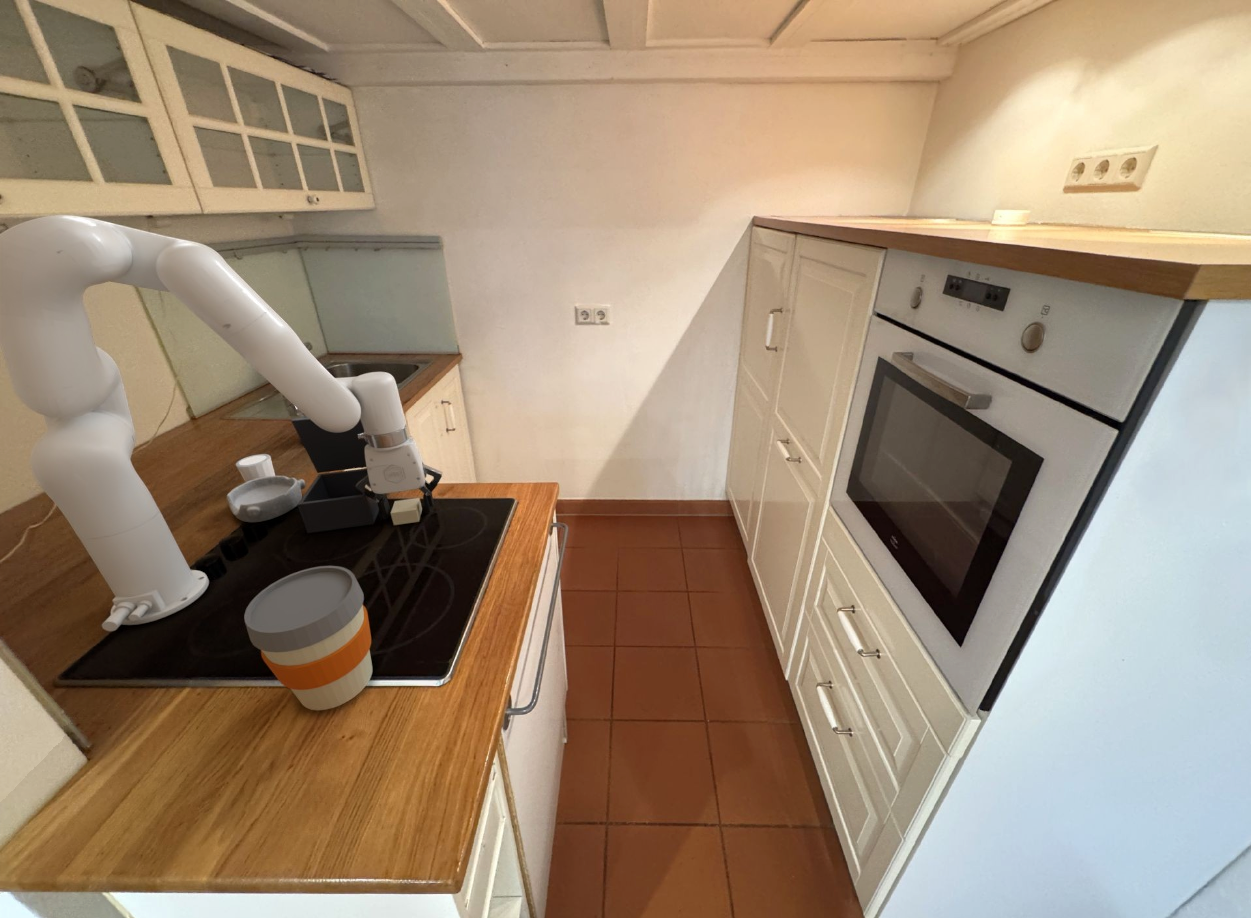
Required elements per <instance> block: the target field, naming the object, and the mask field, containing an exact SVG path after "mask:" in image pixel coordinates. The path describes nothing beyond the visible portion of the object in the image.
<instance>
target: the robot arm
mask: <svg viewBox="0 0 1251 918" xmlns="http://www.w3.org/2000/svg"><path fill="white" fill-rule="evenodd" d="M109 282H110V283H116V284H122V285H127V286H133V287H138V288H143V289H148V290H155V291H159V292H166V293H170V294H172V295H173V296H174V297H175V299H177V300H178V301H179V302H180V303H181V304H182V305H184V307H186V308H187V309H188V310H189V311H190V312H192V313H193V314H194V315H195V316H196V317H197V318H198V319H200V320H201V321H202V322H203V323H204V324H206V326H207V327H209V329H211V330H212V331H213V332H214V333H215V334H216V335H217V336H219V337H220V338H221V339H222V340H223V341H224V342H225V343H226V344H227V345H229V346H230V347H231V348H232V349H233V350H234V351H235V352H236V353H237V354H238V355H239V356H241V357H242V358H243V359H244V360H245V361H246V363H248V364H249V365H250V366H251V367H252V368H253V369H254V370H255V371H256V372H258V373H259V374H260V375H261V376H262V377H263V378H264V379H265V380H266V381H268V383H270V384H271V385H272V386H273V387H274V388H275V389H276V390H277V391H278V392H279V393H280V394H281V395H282V396H283V397H284V398H285V399H287V401H289V402H290V403H291V404H292V405H293V406H294V407H296V408H297V410H299V411H300V412H301V413H302V414H303V415H304V416H305V417H308V418H309V419H310V420H311V421H313V422H314V423H315V424H316V425H317V426H319V427H320V428H322V429H324V430H326V431H329V432H335V433H340V432H345V431H348V430H350V429H352V428H353V427H354V426H355V425H356V424H357V423H358V422H359V420H360V418H361V421H362V424H363V428H364V433H362V434H358V439H359V441H360V440H363V441H366V442H367V445H366V446H365V460H366V467H365V468H367V472H368V474H367V475H366V476H364V477H363V478H362V479H361V480H360V481H359V482H358V483H357V484H356V488H357V489H358V490H360V491H361V492H363V493H364V494H365V495H366V496H367V497H369V498H371V499H373V500H374V502H376V503H377V504H378V507H379V513H380V515H382V517H383V519H384V520H387V519H389V517H390V515H391V510H392V509H391V507H390V504H389V500H388V497H387V494H393V493H401V492H408V491H414V490H419V491H420V492H421V493H423V496H422V499H423V504H424V507H425V511H426V513H431V512H432V508H433V507H434V506H435V500H434V496H433V492H434V490H435V489H436V487H437V486H438V484H439V483H440V481H441V479H442V477H443V471H442V470H439V469H436V468H434V467H432V466H429V465H426V464H425V463H424V460H423V457H422V454H421V451H420V448H419V447H418V444H417V442H416V440H415V439H414V437H413V436H410V433H409V430H408V425H407V422H406V417H405V413H404V409H403V405H402V401H401V398H400V393H399V389H398V386H397V381H396V379H395V377H394V376H393V375H392V374H391V373H389V372H385V371H372V372H366V373H363V374H360V375H358V376H348V377H346V376H345V377H334V376H333V375H332V374H331V373H330V372H329V370H327V368H325V367H324V365H322V363H321V362H320V361H318V359H317V358H316V357H315V356H314V355H313V354H312V353H311V352H310V351H309V349H308V348H307V346H306V345H305V344H304V343H303V342H302V340H301V338H300V337H299V336H298V334H297V333H296V332H295V331H294V329H293V328H292V327H291V326H290V325H289V324H288V323H287V322H286V321H285V320H284V319H283V318H282V317H281V316H280V315H279V314H278V312H276V311H275V310H274V309H273V308H272V307H271V306H270V305H269V304H268V303H267V302H266V301H265V300H264V299H263V298H262V297H261V296H260V295H259V294H258V293H257V292H256V290H255V289H253V288H252V287H251V286H250V285H249V284H248V282H246V281H245V280H244V279H243V278H242V277H241V276H240V275H239V274H238V273H237V272H236V271H235V269H233V267H231V266H230V265H229V263H228V262H227V261H226V260H225V259H224V258H223V256H222V255H221V254H220V253H219V252H218V251H216V250H214V249H213V248H212V247H210V246H208V245H206V244H203V243H201V242H196V241H192V240H187V239H182V238H176V237H173V236H167V235H164V234H163V235H162V234H158V233H155V232H151V231H145V230H142V229H137V228H133V227H130V226H126V225H121V224H118V223H112V222H109V221H105V220H101V219H97V218H92V217H87V216H81V215H80V216H79V215H71V214H54V215H47V216H42V217H37V218H32V219H30V220H27V221H23V222H21V223H18V224H16V225H14V226H11V227H10V228H8V229H6V230H4V231H2V232H0V349H1V352H2V355H3V358H4V361H5V364H6V367H7V371H8V376H9V380H10V384H11V386H12V389H13V391H14V394H15V395H16V397H17V398H18V399H19V401H20V402H22V404H23V405H24V406H26V408H27V409H30V411H33V412H35V413H36V414H39V415H41V416H43V418H44V421H45V424H46V427H47V430H46V431H45V432H43V434H42V435H41V436H40V438H39V439H38V440H37V441H36V442H35V444H34V446H33V447H32V450H31V453H30V457H29V467H30V471H31V474H32V476H33V478H34V480H35V482H36V483H37V485H38V486H39V487H40V489H42V491H44V493H45V495H47V496H48V497H49V499H51V501H53V503H54V504H55V505H56V506H57V507H58V509H59V510H60V512H61V513H62V514H63V516H64V517H65V519H66V520H67V522H68V524H69V525H70V527H71V528H72V531H74V533H75V534H76V536H77V537H78V539H79V540H80V542H81V544H82V545H83V547H84V549H85V551H86V552H87V553H88V555H89V556H90V558H91V559H92V562H93V563H94V564H95V566H96V568H97V569H98V571H99V573H100V574H101V576H102V577H103V579H104V580H105V582H106V584H107V585H108V587H109V589H110V591H111V592H112V594H113V595H114V598H113V599H112V600H111V602H112V603H113V605H112V606H111V609H110V615H109V616H108V617H107V618H106V619H105V620H104V621H103V622H102V624H101V627H102V629H103V630H104V631H105V632H115V631H117V630H118V629H119V628H120V626H121V625H122V626H137V625H143V624H147V623H150V622H151V623H152V622H155V621H158V620H161V619H163V618H166V617H168V616H171V615H173V614H175V613H177V612H179V611H181V610H183V609H185V608H186V607H188V606H189V605H191V604H192V603H194V602H195V601H197V600H198V599H199V598H200V597H201V596H202V595H203V594H204V593H205V592H206V590H207V589H208V587H209V584H210V580H209V578H208V576H207V574H206V573H205V572H203V571H201V570H196V569H191V568H190V566H189V564H188V562H187V560H186V558H185V556H184V554H183V552H182V551H181V548H180V547H179V545H178V543H177V541H176V539H175V537H174V536H173V533H172V532H171V529H170V527H169V526H168V524H167V522H166V520H165V518H164V516H163V514H162V512H161V510H160V509H159V507H158V505H157V503H156V500H155V499H154V497H153V496H152V494H151V492H150V491H149V489H148V487H147V486H146V484H145V482H144V481H143V480H142V478H141V477H140V476H139V474H138V473H137V471H136V469H135V467H134V466H133V463H132V459H131V458H132V455H133V452H134V450H135V446H136V440H137V437H136V436H137V434H136V430H135V425H134V421H133V417H132V413H131V409H130V404H129V400H128V397H127V393H126V389H125V385H124V382H123V377H122V373H121V371H120V368H119V366H118V364H117V362H115V360H114V359H113V357H112V356H111V355H110V354H109V353H108V352H106V351H105V350H103V349H102V348H100V347H99V346H97V345H96V343H95V340H94V336H93V332H92V326H91V321H90V318H89V315H88V312H87V309H86V306H85V304H84V303H85V302H84V294H85V292H86V290H87V289H88V288H90V287H92V286H96V285H102V284H105V283H109ZM427 475H428V476H431V477H432V479H431V481H430V482H429V481H427V480H426V478H427ZM369 482H370V485H371V487H368V486H367V483H369ZM384 494H386V495H384Z"/></svg>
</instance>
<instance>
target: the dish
mask: <svg viewBox="0 0 1251 918" xmlns="http://www.w3.org/2000/svg"><path fill="white" fill-rule="evenodd" d="M306 486H307V485H306V481H305V480H304V479H302V478H299V479H298V480H297V478H296V477H288V476H286V475H275V476H269V477H262V478H257V479H254V480H250V481H248V482H244V483H241V484H239V485H238V486H236V487H234V488H233V489H231V490H230V491H229V492H228V493H227V495H226V501H227V504H228V506H229V509H230V511H231V513H232V514H233V515H234V517H236V518H237V519H238V520H240V521H242V522H245V523H260V522H265V521H269V520H272V519H276V518H278V517H280V516H282V515H285V514H287V513H289V512H290V511H292V510H293V509H295V508H296V507H298V506H297V504H298V503H299V501H300V500H301V499H302V497H303V493H302V490H304V489H305V488H306Z"/></svg>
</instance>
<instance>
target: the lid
mask: <svg viewBox="0 0 1251 918" xmlns="http://www.w3.org/2000/svg"><path fill="white" fill-rule="evenodd" d="M291 423H292V425H293V428H294V430H295V431H296V433H297V436H298V438H299V439H300V441H301V444H302V445H303V447H304V449H305V451H306V453H307V455H308V457H309V460H310V461H311V463H312V465H313V467H314V469H315V471H316V473H317V474H323V473H331V472H339V471H347V470H356V469H364V468H367V467H366V460H365V446H366V445H367V442H366V441H363V440H360V441H359V439H358V434H362V433H364V428H363V424H362V421H361V418H360V420H359V422H358V423H357V424H356V425H355V426H354V427H353V428H352V429H350V430H348V431H345V432H340V433H335V432H329V431H326V430H324V429H322V428H320V427H319V426H317V425H316V424H315V423H314V422H313V421H311V420H310V419H309V418H308V417H307V416H304V417H303V416H302V417H294V418H291Z"/></svg>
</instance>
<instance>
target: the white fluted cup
mask: <svg viewBox="0 0 1251 918" xmlns="http://www.w3.org/2000/svg"><path fill="white" fill-rule="evenodd" d="M235 466H236V468H237V470H238V472H239V473H240V476H241V477H242V479H243V481H244V483H246V482H248V481H250V480H254V479H257V478H262V477H269V476H276V473H275V468H274V466H273V461H272V457H271V455H269V454H267V453H259V454H258V453H257V454H252V455H250V456H246V457H244V458H241V459H239V460H237V462H236V463H235Z"/></svg>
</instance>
